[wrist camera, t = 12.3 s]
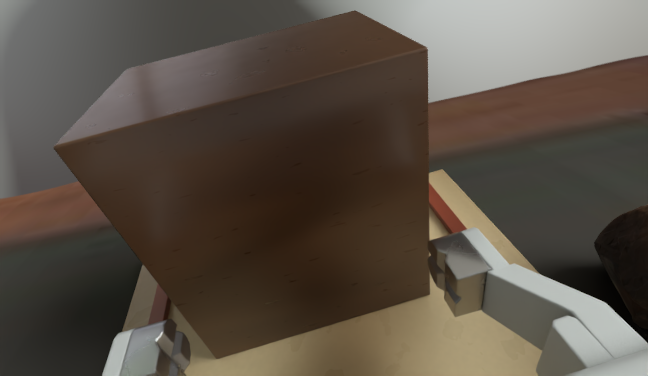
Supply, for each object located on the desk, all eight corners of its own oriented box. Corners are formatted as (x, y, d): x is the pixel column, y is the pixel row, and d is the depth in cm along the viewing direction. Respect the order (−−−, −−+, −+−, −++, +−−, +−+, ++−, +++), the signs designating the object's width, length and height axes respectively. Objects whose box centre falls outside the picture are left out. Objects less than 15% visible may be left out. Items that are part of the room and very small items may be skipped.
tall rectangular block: (216, 360, 15) (50, 147, 9) (222, 245, 21) (127, 66, 14) (430, 295, 16) (428, 46, 9) (378, 200, 21) (353, 9, 15)
